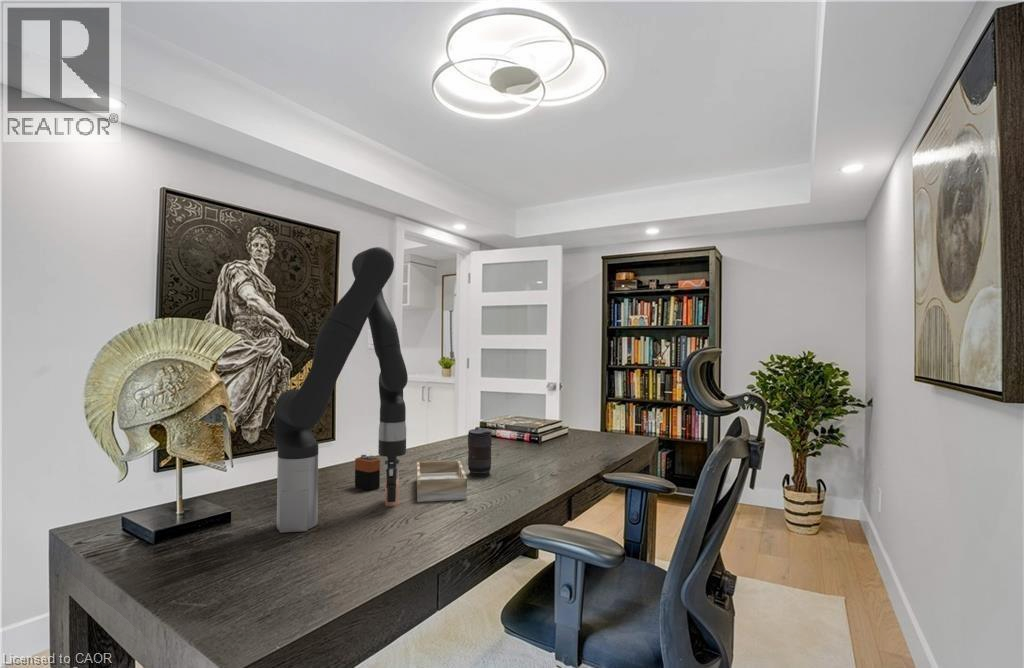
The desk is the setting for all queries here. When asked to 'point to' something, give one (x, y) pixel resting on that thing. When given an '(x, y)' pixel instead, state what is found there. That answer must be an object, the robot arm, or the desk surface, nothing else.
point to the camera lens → (479, 452)
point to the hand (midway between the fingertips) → (391, 499)
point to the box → (441, 481)
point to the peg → (396, 493)
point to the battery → (367, 472)
